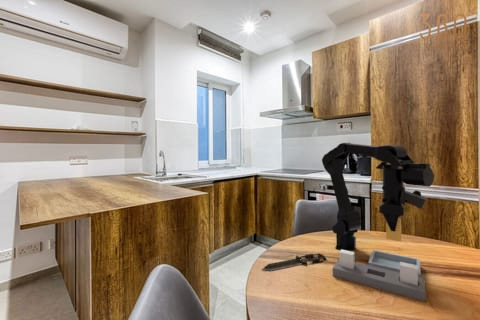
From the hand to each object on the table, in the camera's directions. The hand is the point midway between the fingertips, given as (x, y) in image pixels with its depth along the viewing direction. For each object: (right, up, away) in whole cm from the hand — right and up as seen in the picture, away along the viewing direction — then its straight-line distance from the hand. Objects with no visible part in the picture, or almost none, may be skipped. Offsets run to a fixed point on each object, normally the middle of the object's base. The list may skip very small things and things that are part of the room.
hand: (393, 229), depth 76 cm
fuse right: (-3, -13, -12) cm, 18 cm away
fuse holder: (-10, -13, -7) cm, 18 cm away
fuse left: (-16, -13, -2) cm, 21 cm away
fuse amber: (0, -3, 0) cm, 3 cm away
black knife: (-32, -14, +6) cm, 35 cm away
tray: (+1, -13, 0) cm, 13 cm away
